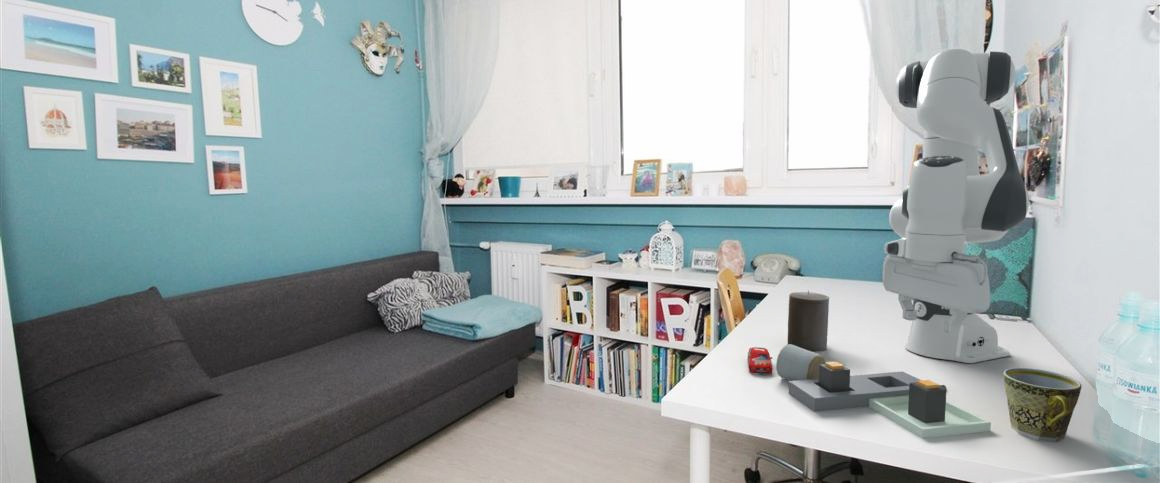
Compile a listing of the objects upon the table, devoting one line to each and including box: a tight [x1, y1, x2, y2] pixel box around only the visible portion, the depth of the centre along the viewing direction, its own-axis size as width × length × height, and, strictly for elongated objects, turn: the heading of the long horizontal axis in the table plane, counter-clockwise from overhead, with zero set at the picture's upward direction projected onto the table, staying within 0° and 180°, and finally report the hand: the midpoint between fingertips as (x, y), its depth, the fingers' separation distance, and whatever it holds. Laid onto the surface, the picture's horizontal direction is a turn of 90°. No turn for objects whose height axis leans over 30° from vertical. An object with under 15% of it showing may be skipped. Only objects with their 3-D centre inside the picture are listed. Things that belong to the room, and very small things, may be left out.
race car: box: [747, 346, 774, 375], centre depth 128 cm, size 13×5×4 cm, turn 163°
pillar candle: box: [786, 290, 830, 353], centre depth 141 cm, size 10×10×15 cm
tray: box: [868, 395, 992, 439], centre depth 98 cm, size 13×13×2 cm
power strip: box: [788, 361, 947, 413], centre depth 109 cm, size 32×9×8 cm, turn 99°
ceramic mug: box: [775, 344, 827, 381], centre depth 118 cm, size 11×8×8 cm
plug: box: [908, 379, 947, 423], centre depth 98 cm, size 4×4×7 cm
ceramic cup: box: [1003, 367, 1082, 443], centre depth 90 cm, size 13×10×10 cm
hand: (929, 326), depth 97 cm, fingers open, 8 cm apart
